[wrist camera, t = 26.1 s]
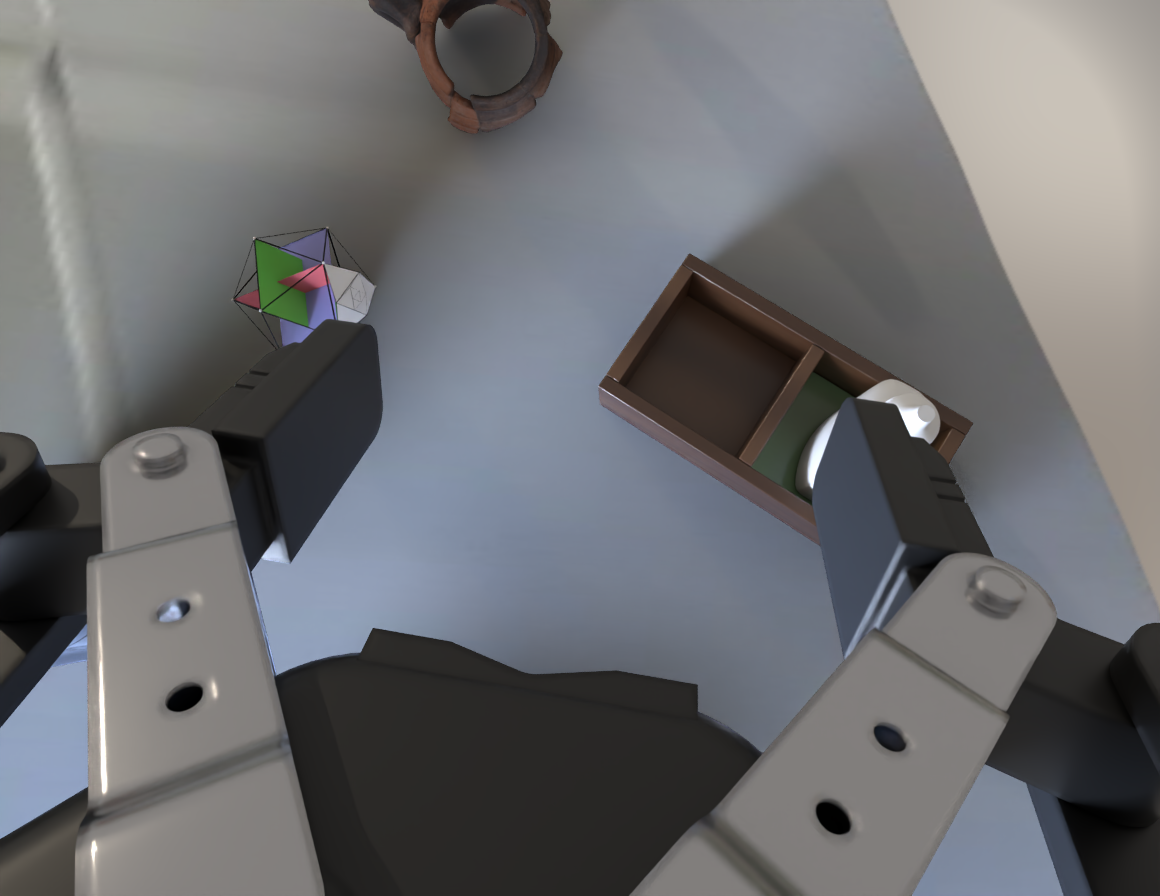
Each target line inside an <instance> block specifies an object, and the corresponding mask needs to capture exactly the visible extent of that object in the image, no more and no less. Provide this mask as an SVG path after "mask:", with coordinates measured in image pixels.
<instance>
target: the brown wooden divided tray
mask: <svg viewBox="0 0 1160 896" xmlns="http://www.w3.org/2000/svg"><path fill="white" fill-rule="evenodd" d="M889 379H893V380H898V381H901V382H903V383H905V384H907V385H909V384H908V383H906V382H904V381H903V380H901V379H899V378H898V377H896V376H894V375H892V374H891V373H889V372H887V371H886V370H884V369H882V368H881V367H879V366H877V365H876V364H874V363H872V362H871V361H869V360H867V359H866V358H864V357H862V356H861V355H859V354H857V353H856V352H854V351H852V350H851V349H849V348H847V347H846V346H844V345H842V344H841V343H839V342H837V341H836V340H834V339H832V338H831V337H829V336H827V335H826V334H824V333H822V332H821V331H819V330H817V329H815V328H814V327H812V326H810V325H809V324H807V323H805V322H804V321H802V320H800V319H799V318H797V317H795V316H794V315H792V314H790V313H789V312H787V311H785V310H784V309H782V308H780V307H779V306H777V305H775V304H774V303H772V302H770V301H769V300H767V299H765V298H764V297H762V296H760V295H759V294H757V293H755V292H754V291H752V290H750V289H749V288H747V287H745V286H744V285H742V284H740V283H738V282H737V281H735V280H733V279H732V278H730V277H728V276H727V275H725V274H723V273H722V272H720V271H718V270H717V269H715V268H713V267H712V266H710V265H708V264H707V263H705V262H703V261H702V260H700V259H698V258H697V257H695V256H693V255H692V254H688V256H687V257H686V259H685V260H684V262H683V263H682V265H681V266H680V267H679V269H678V270H677V272H676V273H675V275H674V276H673V278H672V279H671V281H670V282H669V283H668V285H667V286H666V288H665V289H664V291H663V292H662V294H661V295H660V297H659V298H658V300H657V301H656V302H655V304H654V305H653V307H652V308H651V310H650V311H649V313H648V314H647V316H646V317H645V319H644V320H643V321H642V323H641V324H640V326H639V327H638V329H637V330H636V332H635V333H634V335H633V336H632V338H631V339H630V340H629V342H628V343H627V345H626V346H625V348H624V349H623V351H622V352H621V354H620V355H619V357H618V358H617V359H616V361H615V362H614V364H613V365H612V367H611V368H610V370H609V371H608V373H607V375H606V376H605V377H604V379H603V380H602V382H601V383H600V384H599V398H600V404H601V405H602V406H604V407H605V408H607V409H608V410H610V411H611V412H613V413H615V414H616V415H618V416H619V417H621V418H622V419H624V420H625V421H627V422H629V423H630V424H632V425H633V426H635V427H636V428H638V429H639V430H641V431H643V432H644V433H646V434H647V435H649V436H650V437H652V438H653V439H655V440H657V441H658V442H660V443H661V444H663V445H664V446H666V447H667V448H669V449H670V450H672V451H674V452H675V453H677V454H678V455H680V456H681V457H683V458H684V459H686V460H688V461H689V462H691V463H692V464H694V465H695V466H697V467H698V468H700V469H702V470H703V471H705V472H706V473H708V474H709V475H711V476H712V477H714V478H716V479H717V480H719V481H720V482H722V483H723V484H725V485H726V486H728V487H729V488H731V489H733V490H734V491H736V492H737V493H739V494H740V495H742V496H743V497H745V498H747V499H748V500H750V501H751V502H753V503H754V504H756V505H757V506H759V507H761V508H762V509H764V510H765V511H767V512H768V513H770V514H771V515H773V516H774V517H776V518H778V519H779V520H781V521H782V522H784V523H785V524H787V525H788V526H790V527H792V528H793V529H795V530H796V531H798V532H799V533H801V534H802V535H804V536H806V537H807V538H809V539H810V540H812V541H813V542H815V543H816V544H818V545H820V540H819V536H818V531H817V526H816V521H815V516H814V511H813V506H812V501H811V500H809V499H808V498H806V497H804V496H803V495H801V494H800V493H799V492H798V491H797V489H796V486H795V479H796V472H797V467H798V463H799V460H800V457H801V454H802V452H803V449H804V447H805V445H806V444H807V442H808V440H809V439H810V437H811V436H812V434H813V433H814V432H815V431H816V429H817V428H818V427H819V426H820V425H821V424H822V423H823V422H824V421H825V420H826V419H827V418H829V417H830V416H831V415H833V414H834V413H835V412H837V411H838V410H839V409H840V407H841V405H842V403H843V402H844V400H845V399H846V398H848V397H852V398H857V397H858V396H860V395H861V394H863V393H864V392H866V391H867V390H869V389H870V388H872V387H874V386H875V385H877V384H879V383H880V382H882V381H885V380H889ZM909 386H910V387H912V388H914V387H913V386H911V385H909ZM914 389H916V388H914ZM916 390H917V391H919V390H918V389H916ZM919 392H920V393H921V394H922V395H923V396H924V397H925V398H927V400H929V401H930V402H931V403H932V404H933V405H934V406H935V408H936V409H937V411H938V414H939V417H940V427H939V428H940V430H939V433H938V435H937V436H936V438H935V440H933V442H932V443H930V445H931V446H932V447H933V448H934V449H935V450H937V451H938V452H939V453H940V454H941V455H942V456H943V457H944V458H945V459H946V461H947V463H948V464H949V463H950V461H951V459H952V458H953V456H954V454H955V453H956V451H957V449H958V448H959V446H960V444H961V443H962V441H963V439H964V438H965V435H966V434H967V433H968V431H969V430H970V428H971V426H972V425H973V422H971V421H969V420H968V419H966V418H964V417H963V416H961V415H959V414H958V413H956V412H954V411H953V410H951V409H949V408H948V407H946V406H944V405H943V404H941V403H939V402H938V401H936V400H934V399H933V398H931V397H929V396H928V395H926V394H924V393H923V392H921V391H919ZM820 546H821V545H820Z"/></svg>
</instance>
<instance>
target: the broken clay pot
mask: <svg viewBox="0 0 1160 896" xmlns="http://www.w3.org/2000/svg"><path fill="white" fill-rule="evenodd" d="M368 1H369V5H370V7H371V8H372V9H373V11H374V12H376V13H377V14H378V15H380V16H382V17H383V18H385V19H386V20H388V21H389V22H391V23H393V24H394V25H396V26H397V27H399V28H401V29H402V30H403V31H405V32H406V36H407V39H408V41H410V43H411V44H413V45H414V46H415V49H416V50H417V52H418V55H419V58H420V62H421V65H422V68H423V70H424V72H425V74H426V77H427V79H428V80H429V83H430V85H431V87H432V89H433V90H434V92H435V93H436V94H437V96H438V97H439V98H440V99H441V101H442V102H443V103H444V104H445V105H446V106H448V107H449V108H450V116H449V117H448V121H449V122H450V123H451V124H452V125H453V126H454V127H456V128H458V129H460V130H462V131H465V132H467V133H471V134H473V133H478V131H479V129H480V130H481V131H482V132H489V131H492V130H495V129H499V128H501V127H503V126H506V125H508V124H510V123H513V122H515V121H516V120H518V119H520V118H522V117H523V116H524V115H526V114H527V113H528V112H530V111H531V110H533V109H534V108H535V106H536V100H535V99H536V98H539V97H542V96H543V95H544V94H545V92H546V90H547V88H548V86H549V83H550V80H551V78H552V75H553V72H554V70H555V68H556V66H557V63H558V62H559V61H560V59H561V56H562V53H563V52H562V50H561V49H560V48H559V46H558V44H557V43H556V41H555V40H554V39H553V38H552V37H551V36H550V35H549V33H548V32H547V26H548V25H549V24H550V19H551V13H550V10H549V9H550V2H549V1H548V0H368ZM485 4H496V5H500V6H503V7H506V8H508V9H511V10H513V11H515V12H516V13H518V14H519V15H521V16H525V15H526V14H528V16H529V18H530V20H531V23H532V26H533V29H534V33H535V53H534V58H533V61H532V64H531V66H530V68H529V70H528V72H527V73H526V75H525V76H524V78H523V79H522V80H521V81H520V82H519V83H518V84H517V85H515V86H514V87H513V88H511V89H510V90H508V91H506V92H504V93H502V94H498V95H493V96H479V95H471V96H470V99H471V101H470V100H468V99H466V98H464V97H462V96H461V95H459V94H458V93H457V92H456V91H455V90H454V83H453V82H452V80H451V79H450V78H449V77H448V76H447V75H446V73H445V72H444V70H443V68H442V66H441V64H440V62H439V59H438V56H437V52H436V47H435V31H436V23H437V20H438V17H439V18H440V19H441V20H442V22H443V24H444V26H445V27H446V28H447V29H450V28H451V27H452V26H453V24H454V23H455V22H456V20H457V19H458V18H459V17H460V16H461V15H463V14H464V13H465V12H467V11H469V10H471V9H473V8H475V7H477V6H480V5H485Z"/></svg>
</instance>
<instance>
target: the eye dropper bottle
mask: <svg viewBox="0 0 1160 896" xmlns="http://www.w3.org/2000/svg"><path fill="white" fill-rule="evenodd" d="M857 398H859V399H866V400H872V401H879V402H886V403H893V404H895V405H897V407H898V409H899V411H900V413H901V415H902V418H903V420H904V422H905V424H906V427H907V429H908V431H909V433H910V436H912V437H919V438H924V439H925V440H926V441H927V442H928V443H929V444H930V443H932V442H933V440H935V438H936V436H937V435H938V433H939V430H940V428H939V427H940V417H939V414H938V411H937V409H936V408H935V406H934V405H933V404H932V403H931V402H930V401H929V400H927V398H925V397H924V396H923V395H922V394H921V393H920V392H919V391H917V390H916V389H914V388H912V387H910V386H909V385H907V384H905V383H903V382H901V381H898V380H893V379H889V380H885V381H882V382H880V383H879V384H877V385H875V386H874V387H872V388H870V389H869V390H867V391H866V392H864V393H863V394H861V395H860V396H858V397H857ZM838 412H839V410H838V411H837V412H835V413H834V414H833V415H831V416H830V417H829V418H827V419H826V420H825V421H824V422H823V423H822V424H821V425H820V426H819V427H818V428H817V429H816V431H815V432H814V433H813V434H812V436H811V437H810V439H809V440H808V442H807V444H806V445H805V447H804V449H803V452H802V454H801V457H800V460H799V463H798V467H797V472H796V479H795V486H796V489H797V491H798V492H799V493H800V494H801V495H803V496H804V497H806V498H808V499H809V500H811V501H812V492H813V485H814V479H815V475H816V472H817V469H818V466H819V464H820V461H821V458H822V455H823V453H824V450H825V447H826V445H827V442H828V439H829V436H830V434H831V431H832V428H833V426H834V423H835V420H836V417H837V415H838Z"/></svg>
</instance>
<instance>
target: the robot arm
mask: <svg viewBox="0 0 1160 896" xmlns="http://www.w3.org/2000/svg"><path fill="white" fill-rule="evenodd" d="M382 411H383V400H382V389H381V378H380V367H379V355H378V344H377V336H376V332H375V330H374V328H373V327H372V326H371V325H368V324H361V323H354V322H347V321H341V320H334V319H326V320H324V321H323V322H322V323H321V324H320V325H319V326H318V327H317V328H316V329H315V330H314V331H313V332H311V333H310V334H309V335H308V336H307V337H306V338H305V339H304V340H303V341H302V342H301V343H297V342H293V343H290V344H288V345H286V346H284V347H282V348H279V349H277V350H275V351H273V352H271V353H269V354H267V355H266V356H264V357H263V358H262V359H261V360H260V361H259V362H258V363H257V364H256V365H255V366H254V367H253V368H251V369H250V373H249V374H247V373H246V374H245V375H244V376H243V377H242V378H241V379H240V380H238V381H237V382H236V383H235V387H231V388H230V389H229V390H228V391H227V392H225V393H224V394H223V395H222V396H221V397H220V398H219V399H218V400H217V401H216V402H215V403H213V404H212V405H211V406H210V407H209V408H208V409H207V410H206V411H205V412H204V413H203V414H202V415H200V416H199V417H198V418H197V419H196V420H195V421H194V422H193V423H192V424H191V425H190V426H189V427H165V428H158V429H153V430H149V431H145V432H142V433H139V434H136V435H134V436H131V437H129V438H127V439H125V440H123V441H121V442H120V443H118V444H117V445H115V446H114V447H113V448H112V449H110V450H109V451H108V452H107V453H106V455H105V456H104V457H103V459H102V461H101V463H81V464H61V465H45V464H44V462H43V460H42V458H41V455H40V453H39V451H38V449H37V446H36V444H35V443H34V442H33V441H32V440H31V439H29V438H28V437H26V436H23V435H20V434H15V433H5V432H0V728H1V726H2V725H3V724H4V723H5V722H6V720H7V719H8V718H9V717H10V716H11V714H12V713H13V712H14V711H15V709H16V708H17V707H18V706H19V705H20V703H21V702H22V701H23V700H24V699H25V697H26V696H27V695H28V694H29V693H30V691H31V690H32V689H33V688H34V687H35V685H36V684H37V683H38V682H39V681H40V679H41V678H42V677H43V676H44V675H45V673H46V672H47V671H48V670H49V669H50V667H54V666H60V665H65V664H71V663H77V662H82V661H87V679H88V787H87V788H85V789H84V790H82V791H80V792H79V793H77V794H75V795H74V796H72V797H70V798H69V799H67V800H65V801H64V802H62V803H60V804H58V805H57V806H55V807H53V808H52V809H50V810H48V811H47V812H45V813H43V814H42V815H40V816H38V817H37V818H35V819H33V820H32V821H30V822H28V823H27V824H25V825H23V826H22V827H20V828H18V829H17V830H15V831H13V832H12V833H10V834H8V835H7V836H5V837H3V838H1V839H0V896H912V894H913V892H914V890H915V888H916V887H917V885H918V883H919V881H920V879H921V878H922V876H923V874H924V872H925V870H926V869H927V867H928V865H929V863H930V861H931V860H932V858H933V856H934V854H935V852H936V851H937V849H938V847H939V845H940V843H941V842H942V840H943V838H944V836H945V834H946V833H947V831H948V829H949V827H950V825H951V824H952V822H953V820H954V818H955V816H956V814H957V813H958V811H959V809H960V807H961V805H962V804H963V802H964V800H965V798H966V796H967V795H968V793H969V791H970V789H971V787H972V786H973V784H974V782H975V780H976V778H977V777H978V775H979V773H980V771H981V769H982V768H983V766H984V764H986V765H988V766H990V767H992V768H995V769H997V770H999V771H1001V772H1003V773H1006V774H1008V775H1010V776H1012V777H1014V778H1016V779H1019V780H1021V781H1023V782H1025V783H1026V784H1027V787H1028V790H1029V793H1030V796H1031V799H1032V802H1033V805H1034V808H1035V811H1036V814H1037V817H1038V820H1039V823H1040V826H1041V829H1042V832H1043V835H1044V838H1045V841H1046V844H1047V847H1048V850H1049V853H1050V856H1051V859H1052V862H1053V865H1054V868H1055V871H1056V874H1057V877H1058V880H1059V883H1060V886H1061V888H1062V891H1063V894H1064V896H1160V623H1151V624H1146V625H1144V626H1142V627H1140V628H1139V629H1138V630H1137V631H1136V632H1135V633H1134V634H1133V635H1132V636H1131V638H1130V639H1129V640H1128V641H1127V642H1126V644H1125V645H1124V644H1122V643H1119V642H1117V641H1114V640H1111V639H1109V638H1106V637H1103V636H1101V635H1098V634H1096V633H1093V632H1090V631H1088V630H1085V629H1082V628H1080V627H1077V626H1075V625H1072V624H1069V623H1067V622H1065V621H1062V620H1060V619H1058V618H1057V613H1056V609H1055V606H1054V604H1053V602H1052V600H1051V598H1050V597H1049V596H1048V594H1047V593H1046V591H1045V590H1044V589H1043V588H1042V587H1041V586H1040V585H1039V584H1038V583H1037V582H1036V581H1034V580H1033V579H1032V578H1031V577H1029V576H1028V575H1027V574H1025V573H1024V572H1022V571H1021V570H1019V569H1017V568H1016V567H1014V566H1012V565H1010V564H1008V563H1006V562H1004V561H1001V560H999V559H996V558H994V557H993V554H992V552H991V550H990V548H989V546H988V544H987V542H986V540H985V538H984V536H983V534H982V532H981V530H980V528H979V526H978V524H977V522H976V520H975V518H974V516H973V514H972V512H971V510H970V508H969V506H968V504H967V503H965V502H964V499H965V498H964V495H963V493H962V491H961V489H960V487H959V485H956V484H955V483H956V479H955V477H954V475H953V473H952V471H951V469H950V467H949V465H948V463H947V461H946V459H945V458H944V457H943V456H942V455H941V454H940V453H939V452H938V451H937V450H935V449H934V448H933V447H932V446H931V445H930V444H929V443H928V442H927V441H926V440H925V439H924V438H919V437H912V436H910V433H909V431H908V429H907V427H906V424H905V422H904V420H903V418H902V415H901V413H900V411H899V409H898V407H897V405H895V404H893V403H886V402H879V401H872V400H866V399H859V398H852V397H848V398H846V399H845V400H844V402H843V403H842V405H841V407H840V409H839V412H838V415H837V417H836V420H835V423H834V426H833V428H832V431H831V434H830V436H829V439H828V442H827V445H826V447H825V450H824V453H823V455H822V458H821V461H820V464H819V466H818V469H817V472H816V475H815V479H814V485H813V492H812V506H813V511H814V516H815V521H816V526H817V531H818V536H819V540H820V545H821V550H822V555H823V560H824V565H825V569H826V574H827V579H828V584H829V589H830V593H831V598H832V603H833V608H834V613H835V618H836V622H837V627H838V632H839V637H840V642H841V647H842V651H843V656H844V661H843V662H842V663H841V664H840V665H839V667H838V668H837V669H836V670H835V671H834V672H833V673H832V675H831V676H830V677H829V678H828V679H827V680H826V681H825V683H824V684H823V685H822V686H821V687H820V688H819V690H818V691H817V692H816V693H815V694H814V695H813V696H812V698H811V699H810V700H809V701H808V702H807V703H806V704H805V706H804V707H803V708H802V709H801V710H800V711H799V713H798V714H797V715H796V716H795V717H794V718H793V719H792V721H791V722H790V723H789V724H788V725H787V726H786V727H785V729H784V730H783V731H782V732H781V733H780V734H779V736H778V737H777V738H776V739H775V740H774V741H773V742H772V744H771V745H770V746H769V747H768V748H767V749H766V750H765V752H764V753H761V752H760V751H759V750H758V749H757V748H756V747H754V746H753V745H752V744H751V743H750V742H749V741H747V740H746V739H745V738H743V737H742V736H741V735H739V734H738V733H736V732H735V731H733V730H732V729H730V728H729V727H727V726H726V725H724V724H722V723H720V722H718V721H717V720H715V719H713V718H711V717H709V716H707V715H705V714H702V713H700V712H698V685H696V684H690V683H685V682H679V681H673V680H667V679H662V678H656V677H650V676H645V675H639V674H633V673H627V672H622V671H596V672H576V673H555V674H528V673H524V672H521V671H518V670H516V669H514V668H511V667H509V666H507V665H504V664H502V663H500V662H497V661H495V660H493V659H490V658H488V657H486V656H483V655H481V654H479V653H476V652H474V651H472V650H469V649H467V648H465V647H462V646H460V645H458V644H455V643H453V642H450V641H444V640H439V639H433V638H427V637H422V636H416V635H410V634H404V633H399V632H393V631H387V630H382V629H376V628H373V629H372V631H371V633H370V635H369V637H368V639H367V641H366V643H365V645H364V647H363V649H362V651H361V653H350V654H343V655H337V656H331V657H327V658H323V659H319V660H315V661H311V662H308V663H306V664H303V665H300V666H297V667H294V668H292V669H289V670H287V671H285V672H283V673H281V674H279V675H277V673H276V669H275V665H274V661H273V657H272V653H271V649H270V644H269V640H268V636H267V632H266V628H265V624H264V620H263V616H262V612H261V608H260V604H259V600H258V596H257V592H256V588H255V584H254V580H253V577H252V573H251V571H252V570H253V569H254V567H255V566H256V565H257V563H258V562H259V560H260V559H265V560H271V561H276V562H282V563H288V564H290V563H291V562H292V560H293V559H294V557H295V556H296V554H297V553H298V551H299V550H300V548H301V547H302V545H303V544H304V542H305V541H306V539H307V538H308V536H309V535H310V533H311V532H312V530H313V529H314V527H315V526H316V524H317V523H318V522H319V520H320V519H321V517H322V516H323V514H324V513H325V511H326V510H327V508H328V507H329V505H330V504H331V502H332V501H333V499H334V498H335V496H336V495H337V493H338V492H339V490H340V489H341V487H342V486H343V484H344V483H345V481H346V480H347V478H348V477H349V475H350V474H351V472H352V471H353V469H354V468H355V467H356V465H357V464H358V462H359V461H360V459H361V458H362V456H363V455H364V453H365V452H366V450H367V449H368V447H369V446H370V444H371V443H372V441H373V440H374V438H375V437H376V435H377V432H378V430H379V427H380V423H381V419H382Z"/></svg>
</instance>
